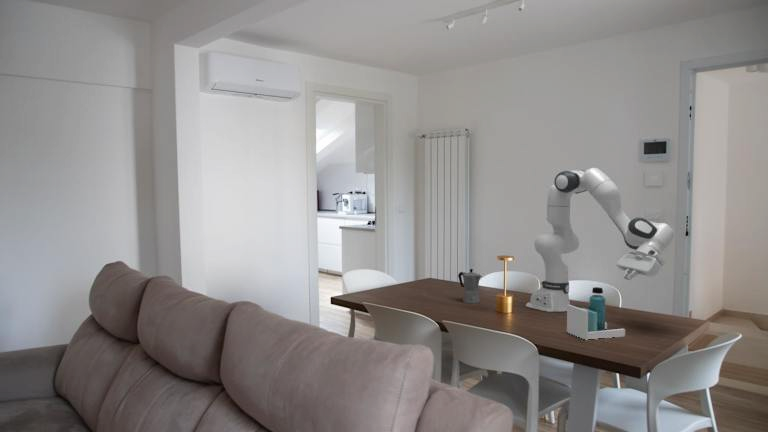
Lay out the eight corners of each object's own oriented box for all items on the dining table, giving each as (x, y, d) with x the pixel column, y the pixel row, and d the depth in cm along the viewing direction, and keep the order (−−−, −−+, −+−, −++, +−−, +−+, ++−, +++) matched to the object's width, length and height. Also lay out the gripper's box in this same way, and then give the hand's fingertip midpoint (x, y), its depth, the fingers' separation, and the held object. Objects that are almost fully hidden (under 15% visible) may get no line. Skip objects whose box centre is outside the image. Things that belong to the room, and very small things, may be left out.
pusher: (583, 330, 226) (583, 307, 226) (597, 336, 218) (597, 312, 217) (580, 331, 226) (580, 308, 225) (593, 337, 217) (594, 313, 217)
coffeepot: (486, 302, 287) (486, 269, 286) (476, 304, 280) (476, 271, 279) (463, 298, 298) (463, 266, 297) (453, 300, 291) (453, 268, 290)
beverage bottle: (593, 331, 227) (593, 285, 226) (608, 334, 222) (608, 287, 221) (585, 334, 223) (585, 287, 222) (600, 337, 218) (600, 289, 217)
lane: (605, 328, 231) (605, 301, 231) (625, 336, 219) (625, 307, 219) (566, 332, 226) (567, 304, 226) (585, 340, 214) (585, 311, 214)
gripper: (625, 247, 237) (605, 269, 235) (660, 253, 217) (639, 278, 215) (633, 256, 238) (614, 279, 236) (668, 263, 219) (648, 288, 217)
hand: (626, 278), depth 226 cm, fingers closed
